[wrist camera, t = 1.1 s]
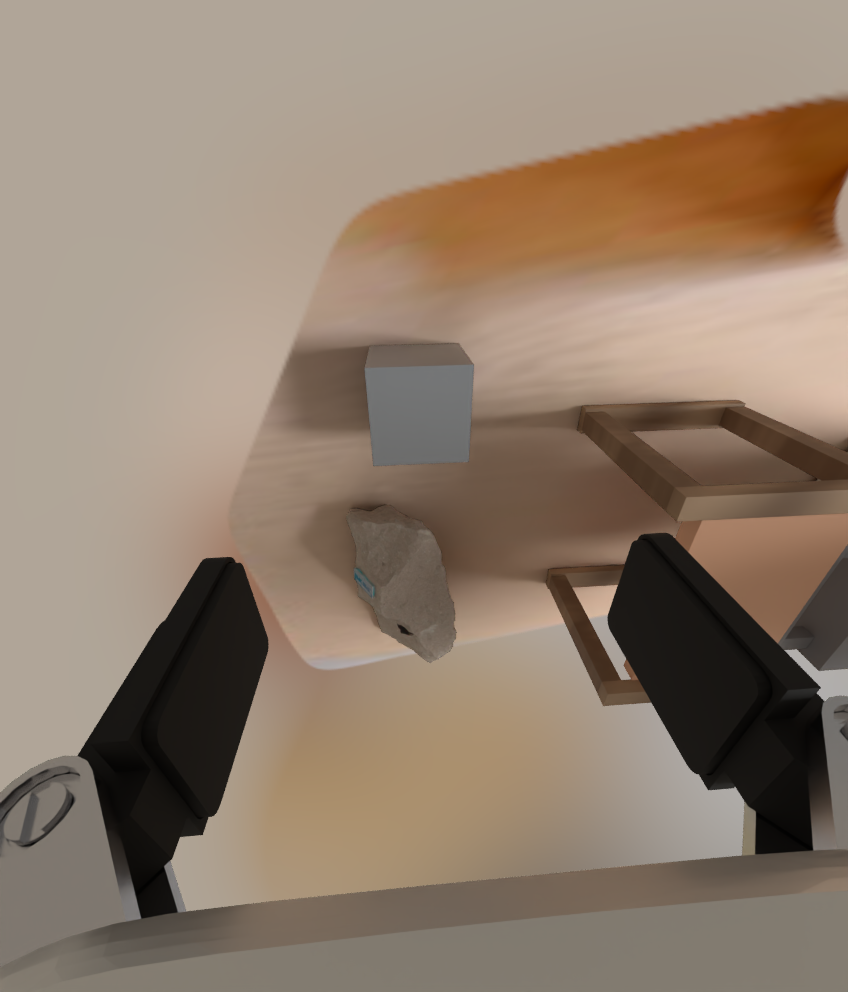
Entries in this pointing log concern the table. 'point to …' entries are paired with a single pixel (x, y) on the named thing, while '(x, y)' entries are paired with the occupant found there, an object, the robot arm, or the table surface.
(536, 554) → the table surface
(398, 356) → the slate block
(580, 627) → the frame
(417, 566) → the concrete fragment
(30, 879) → the robot arm
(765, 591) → the trapdoor
